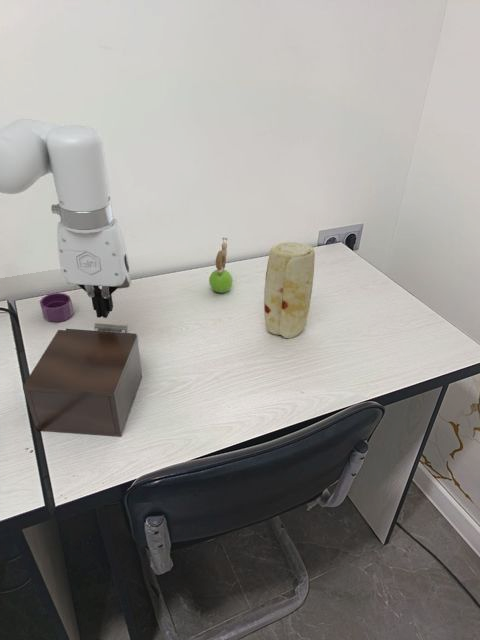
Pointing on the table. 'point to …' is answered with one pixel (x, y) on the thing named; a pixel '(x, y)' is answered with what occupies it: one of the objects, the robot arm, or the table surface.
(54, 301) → the bowl
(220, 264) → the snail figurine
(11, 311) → the table surface
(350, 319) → the table surface
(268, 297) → the food model
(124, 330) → the drawer
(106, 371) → the dark wooden cabinet
